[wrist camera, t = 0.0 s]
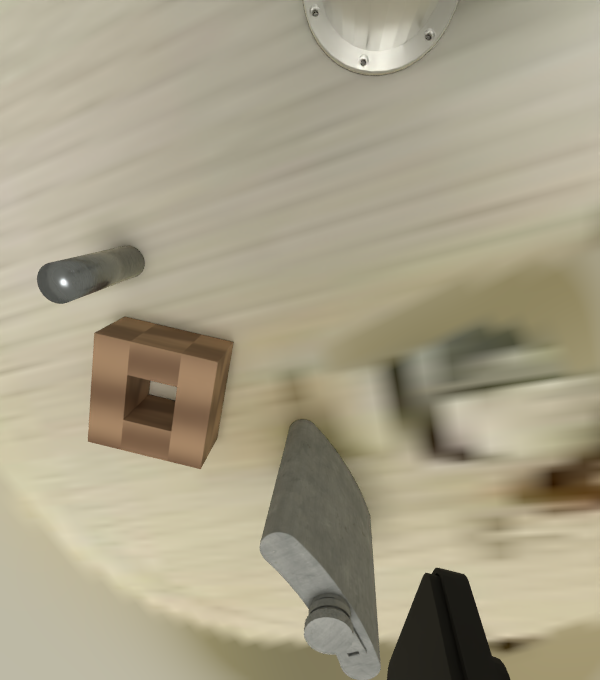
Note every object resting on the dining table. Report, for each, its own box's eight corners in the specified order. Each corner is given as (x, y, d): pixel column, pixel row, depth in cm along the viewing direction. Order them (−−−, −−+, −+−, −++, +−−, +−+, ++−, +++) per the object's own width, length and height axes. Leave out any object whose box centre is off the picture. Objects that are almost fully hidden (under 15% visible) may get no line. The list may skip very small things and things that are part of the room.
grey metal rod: (115, 242, 45) (37, 258, 34) (145, 249, 45) (77, 267, 34) (113, 273, 46) (36, 298, 35) (142, 280, 46) (75, 307, 35)
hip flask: (283, 426, 50) (244, 567, 31) (315, 411, 49) (294, 548, 30) (351, 532, 53) (352, 718, 34) (381, 520, 52) (400, 705, 33)
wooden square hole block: (124, 316, 48) (94, 333, 42) (233, 342, 47) (217, 362, 42) (116, 414, 52) (87, 441, 46) (217, 438, 51) (200, 469, 45)
